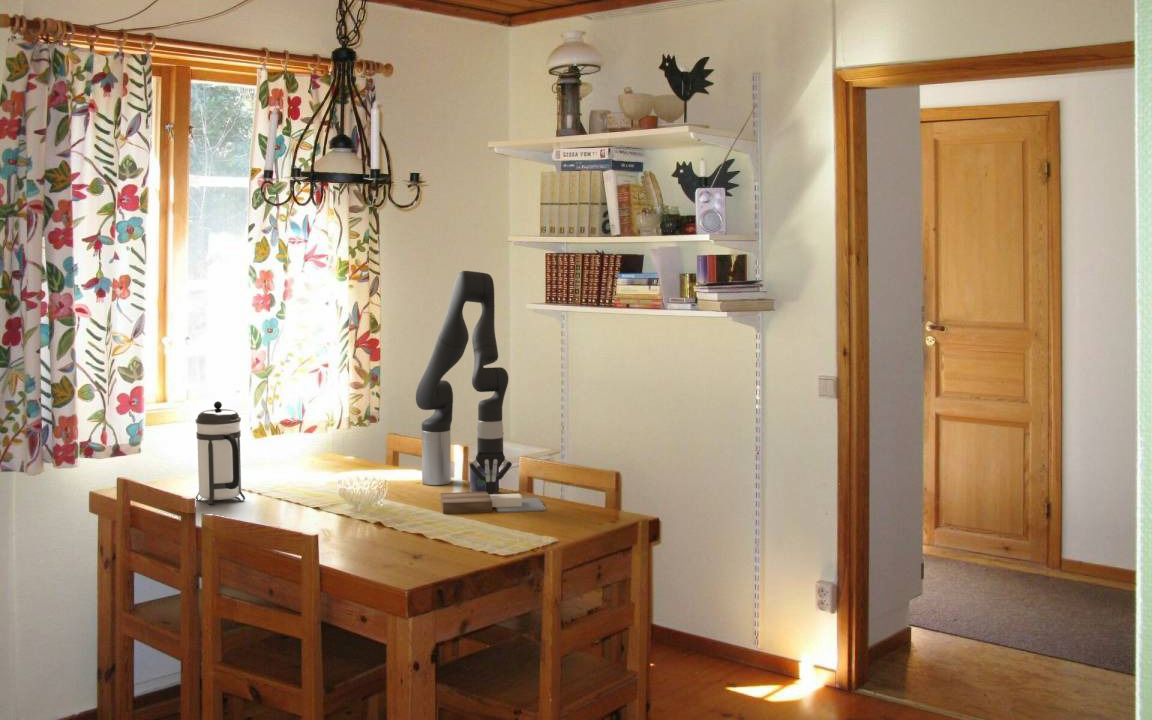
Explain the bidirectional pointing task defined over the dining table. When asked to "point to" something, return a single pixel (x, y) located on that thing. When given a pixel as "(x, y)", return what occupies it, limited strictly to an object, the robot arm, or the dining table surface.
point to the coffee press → (219, 454)
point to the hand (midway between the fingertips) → (490, 493)
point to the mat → (524, 506)
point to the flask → (480, 481)
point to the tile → (506, 500)
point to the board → (466, 502)
